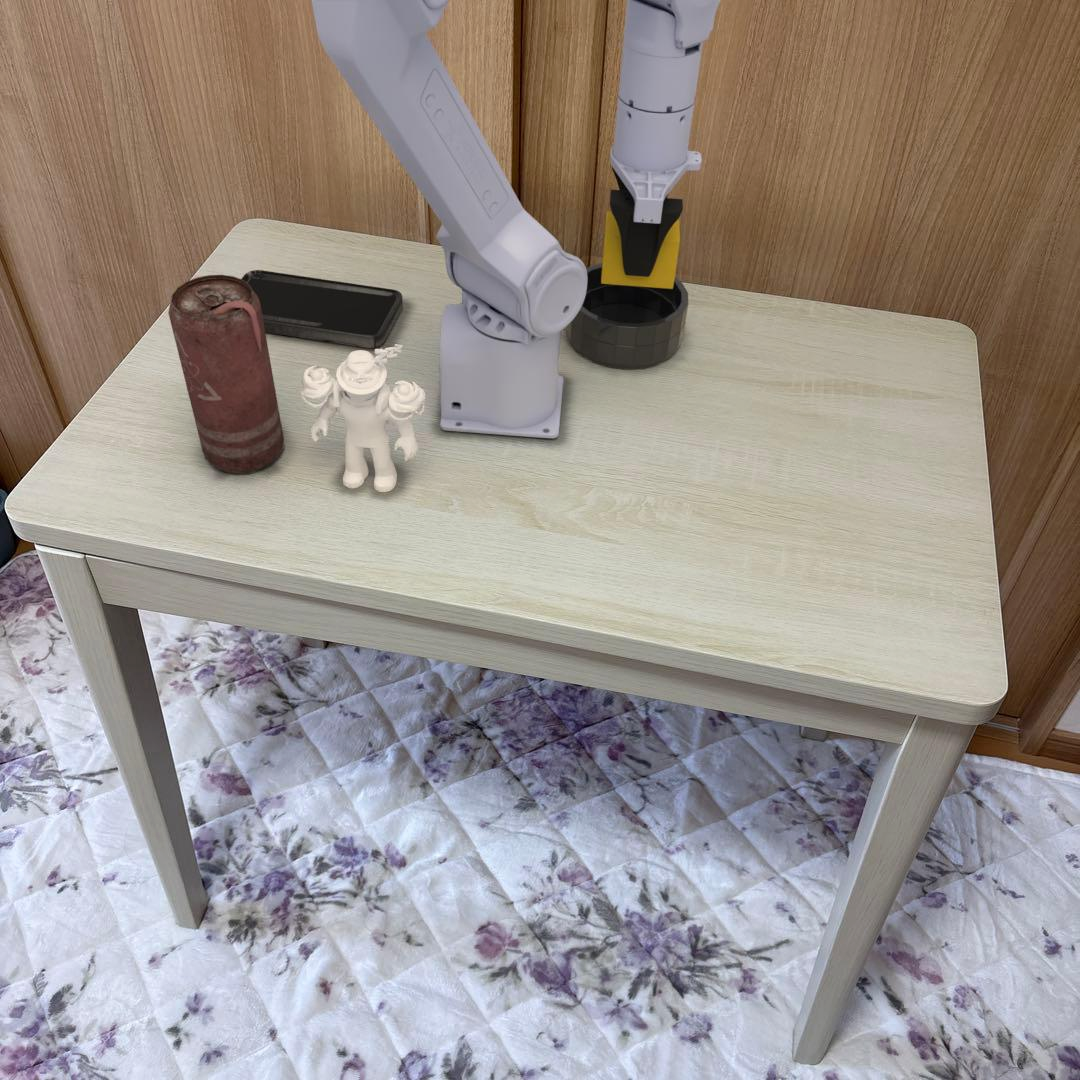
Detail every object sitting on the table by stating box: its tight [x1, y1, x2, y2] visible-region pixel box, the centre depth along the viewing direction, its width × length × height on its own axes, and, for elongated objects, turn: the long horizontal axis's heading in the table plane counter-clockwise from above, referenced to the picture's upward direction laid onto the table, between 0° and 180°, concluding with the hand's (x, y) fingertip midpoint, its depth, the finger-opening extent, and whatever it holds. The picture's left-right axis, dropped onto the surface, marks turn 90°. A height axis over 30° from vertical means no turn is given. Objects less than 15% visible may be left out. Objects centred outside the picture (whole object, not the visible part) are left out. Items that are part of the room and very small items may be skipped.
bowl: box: [565, 262, 689, 370], centre depth 93 cm, size 10×10×4 cm
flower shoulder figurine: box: [300, 343, 426, 493], centre depth 76 cm, size 9×4×12 cm, turn 79°
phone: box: [241, 269, 404, 349], centre depth 95 cm, size 8×1×15 cm
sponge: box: [601, 210, 681, 289], centre depth 88 cm, size 6×4×4 cm, turn 86°
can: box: [167, 274, 285, 475], centre depth 77 cm, size 6×6×14 cm
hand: (637, 259), depth 88 cm, fingers closed on sponge, 4 cm apart
